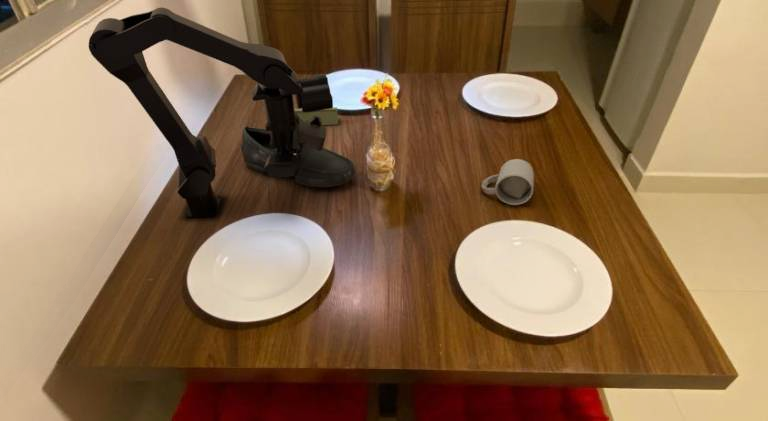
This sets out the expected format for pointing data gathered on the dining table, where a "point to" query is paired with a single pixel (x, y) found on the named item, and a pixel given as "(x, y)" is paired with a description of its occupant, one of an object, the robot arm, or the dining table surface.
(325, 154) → the loafer
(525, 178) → the ceramic mug
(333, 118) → the rail
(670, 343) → the dining table surface
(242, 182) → the dining table surface
